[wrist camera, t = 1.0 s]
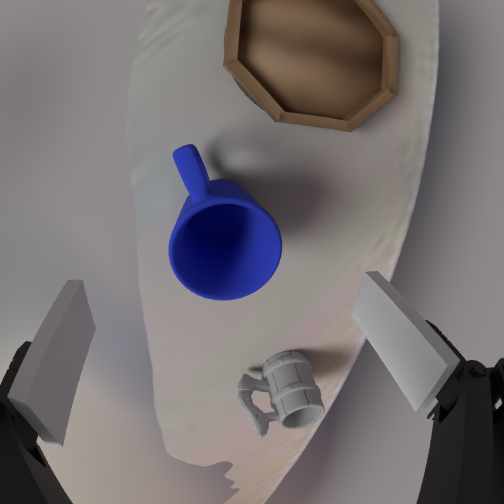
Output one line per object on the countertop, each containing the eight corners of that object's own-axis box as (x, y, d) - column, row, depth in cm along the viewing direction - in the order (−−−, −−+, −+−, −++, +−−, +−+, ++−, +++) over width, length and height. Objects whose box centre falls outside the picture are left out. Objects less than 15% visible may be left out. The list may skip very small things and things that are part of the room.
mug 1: (226, 122, 26) (241, 124, 17) (267, 229, 31) (295, 277, 23) (148, 156, 26) (122, 177, 17) (197, 257, 31) (198, 315, 23)
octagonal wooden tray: (231, -29, 18) (235, -44, 15) (380, 5, 21) (397, -2, 18) (218, 118, 25) (220, 118, 22) (374, 136, 29) (391, 140, 25)
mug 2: (302, 379, 44) (325, 438, 34) (231, 385, 42) (242, 451, 31) (313, 346, 41) (343, 410, 31) (234, 352, 39) (248, 424, 28)
